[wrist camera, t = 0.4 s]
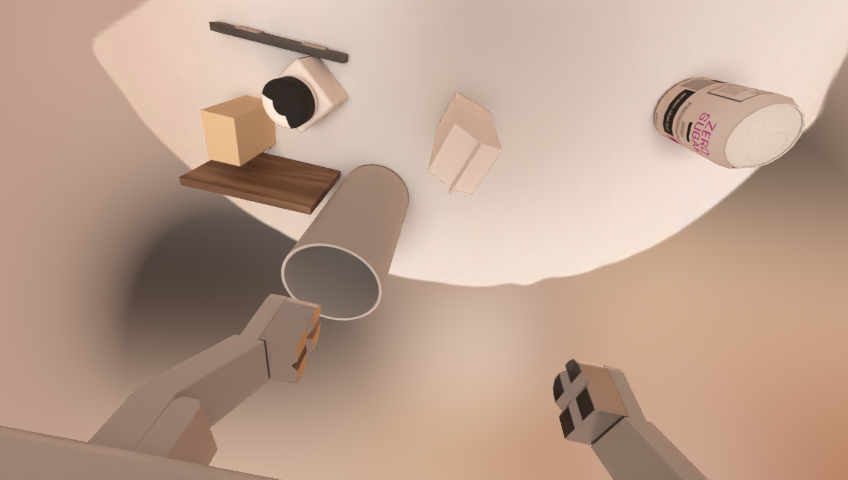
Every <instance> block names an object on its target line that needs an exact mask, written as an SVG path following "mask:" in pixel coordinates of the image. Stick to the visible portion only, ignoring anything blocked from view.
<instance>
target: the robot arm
mask: <svg viewBox="0 0 848 480" xmlns="http://www.w3.org/2000/svg"><path fill="white" fill-rule="evenodd" d="M320 313H321V305H318V304H313V303H309V302H305V301H301V300H297V299H293V298H289V297H284V296H280V295H275V294H271V295H270V296H269V297H267V298H266V300H265V301H264V303H263V304H262V305H261V307H260V308H259V309H258V311H257V312H256V314H255V315H254V316H253V318H252V319H251V321H250V322H249V323H248V325H247V326H246V328H245V329H244V330H243V332H242V333H241V335H240V336H239V335H233V336H231V337H230V338H228V339H226V340H224V341H222V342H220V343H218V344H216V345H214V346H213V347H211V348H209V349H207V350H205V351H203V352H201V353H199V354H197V355H196V356H194V357H192V358H190V359H188V360H186V361H185V362H182V363H180V364H179V365H177V366H175V367H173V368H171V369H169V370H167V371H165V372H164V373H162V374H160V375H158V376H156V377H154V378H152V379H150V380H149V381H147V382H145V383H143V384H141V385H139V386H138V387H137V388H136V389H135V391H134V392H133V393H132V394H131V395H130V396H129V397H128V398H127V399H126V401H125V402H124V403H123V404H122V405H121V406H120V407H119V408H118V409H117V411H116V412H115V413H114V414H113V415H112V416H111V417H110V418H109V419H108V420H107V422H106V423H105V424H104V425H103V426H102V427H101V428H100V429H99V430H98V432H97V433H96V434H95V435H94V436H93V437H92V438H91V439H90V440H89V441H88V442H83V441H78V440H73V439H68V438H63V437H57V436H52V435H47V434H42V433H36V432H31V431H26V430H21V429H16V428H10V427H5V426H0V480H279V479H274V478H269V477H263V476H258V475H253V474H248V473H243V472H238V471H233V470H227V469H222V468H217V467H212V466H209V464H210V462H211V460H212V458H213V457H214V455H215V453H216V451H217V446H216V443H215V440H214V438H213V435H212V433H211V430H210V427H212V426H213V425H214V424H215V423H217V422H218V421H219V420H220V419H222V418H223V417H224V416H225V415H226V414H228V413H229V412H230V411H232V410H233V409H234V408H235V407H237V406H238V405H239V404H240V403H241V402H243V401H244V400H246V399H247V398H248V397H249V396H251V395H252V394H253V393H254V392H255V391H257V390H258V389H259V388H261V387H262V386H263V385H264V384H265V383H267V382H268V381H269V379H272V380H278V381H285V382H289V383H295V384H298V382H299V380H300V378H301V376H302V374H303V372H304V369H305V367H306V365H307V355H308V354H310V353H311V352H313V349H314V347H315V345H316V342H317V339H318V336H319V332H320V321H319V320H318V318H319V316H320ZM566 369H567V370H566V371H563V372H561V373H559V374H558V376H557V377H556V378H555V381H554V386H553V394H554V399H555V403H556V404H557V405H558V406H559V407H560V409H561V410H562V412H561V414H560V416H559V419H560V422H561V426H562V430H563V434H564V438H565V439H567V440H571V441H576V442H580V443H584V444H588V445H592V446H591V448H592V449H593V450H594V452H595V453H596V455H597V456H598V458H599V459H600V461H601V462H602V464H603V465H604V467H605V468H606V469H607V471H608V472H609V474H610V475H611V477H612V478H613V480H708V479H707V478H706V477H705V476H704V475H703V474H702V473H701V472H700V471H699V470H698V469H697V468H696V467H695V466H694V465H693V464H692V463H691V462H690V461H689V460H688V459H687V458H686V457H685V456H684V455H683V454H682V453H681V452H680V451H679V450H678V449H677V448H676V447H675V446H674V445H673V444H672V443H671V442H670V441H669V440H668V439H667V438H666V437H665V436H664V435H663V434H662V433H661V432H660V431H659V430H658V428H656V426H655V425H654V424H652V423H651V422H648V421H646V419H645V417H644V415H643V413H642V411H641V408H640V407H639V404H638V402H637V400H636V398H635V396H634V394H633V392H632V390H631V388H630V386H629V383H628V381H627V379H626V377H625V375H624V373H623V372H622V371H621V370H620V369H617V368H612V367H608V366H602V365H600V364H594V363H589V362H585V361H580V360H575V359H572V360H570V361H569V362H568V363H567V364H566Z"/></svg>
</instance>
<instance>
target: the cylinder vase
mask: <svg viewBox="0 0 848 480" xmlns="http://www.w3.org/2000/svg"><path fill="white" fill-rule="evenodd" d="M407 207H408V193H407V189H406V187H405V185H404V183H403V182H402V180H401V179H400V178H399V177H398V176H397V175H396V174H395V173H393V172H392V171H390V170H389V169H386V168H384V167H381V166H376V165H367V166H362V167H359V168H357V169H355V170H353V171H352V172H351V173H350V174H349V175H348V176H347V177H346V179H345V180H344V181H343V182H342V184H341V185H340V186H339V188H338V189H337V190H336V192H335V193H334V194H333V196H332V197H331V198H330V200H329V201H328V202H327V204H326V205H325V206H324V208H323V209H322V210H321V212H320V213H319V214H318V216H317V217H316V218H315V220H314V221H313V222H312V224H311V225H310V226H309V228H308V229H307V230H306V232H305V233H304V234H303V236H302V237H301V238H300V240H299V241H298V242H297V244H296V245H295V246H294V248H293V249H292V250H291V252H290V253H289V254H288V256H287V257H286V258H285V260H284V262H283V265H282V269H281V275H282V280H283V283H284V286H285V288H286V290H287V291H288V293H289V294H290V295H291V296H292V298H293V299H297V300H301V301H305V302H309V303H313V304H318V305H321V313H320V316H322V317H326V318H330V319H335V320H352V319H358V318H361V317H363V316H366V315H368V314H369V313H371V312H372V311H373V310H374V309H375V308H376V307H377V305H378V304H379V302H380V299H381V296H382V292H383V289H384V285H385V282H386V279H387V275H388V272H389V269H390V265H391V262H392V258H393V255H394V251H395V248H396V245H397V241H398V238H399V234H400V231H401V227H402V224H403V221H404V217H405V214H406V210H407Z"/></svg>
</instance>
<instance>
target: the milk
mask: <svg viewBox="0 0 848 480" xmlns="http://www.w3.org/2000/svg"><path fill="white" fill-rule="evenodd" d="M501 152H502V150H501V147H500V144H499V141H498V138H497V135H496V132H495V129H494V126H493V123H492V120H491V117H490V114H489V111H487V110H485V109H484V108H482V107H480V106H479V105H477V104H475V103H474V102H472V101H470V100H469V99H467V98H465V97H464V96H462V95H460V94H459V93H457V92H456V94H455V96H454V98H453V99H452V101H451V103H450V105H449V107H448V109H447V111H446V112H445V114H444V116H443V118H442V120H441V122H440V124H439V125H438V128H437V133H436V137H435V142H434V146H433V151H432V155H431V160H430V164H429V169H428V170H429V172H431V173H432V174H433V175H434V176H435V177H437V178H438V179H439V180H440V181H441V182H443V183H444V184H445V185H446V186H447V187H449V188H450V194H451V193H452V191H453V190H457V191H461V192H466V193H470V194H473V192H474V191H475V189H476V188H477V186H478V185H479V184H480V182H481V181H482V179H483V178H484V176H485V175H486V173H487V172H488V171H489V169H490V168H491V166H492V165H493V163H494V162H495V160H496V159H497V157H498V156H499V155H500V153H501Z"/></svg>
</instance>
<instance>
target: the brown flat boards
mask: <svg viewBox="0 0 848 480" xmlns="http://www.w3.org/2000/svg"><path fill="white" fill-rule="evenodd" d="M209 24H210V30H212V31H216V32H220V33H224V34H228V35H232V36H236V37H239V38H243V39H247V40H251V41H255V42H259V43H263V44H267V45H271V46H275V47H279V48H283V49H287V50H291V51H295V52H299V53H303V54H307V55H311V56H315V57H319V58H323V59H327V60H331V61H335V62H339V63H346V62H348V54H345V53H341V52H337V51H333V50H329V49H328V48H325V47H322V46H318V45H314V44H310V43H301V42H297V41H293V40H289V39H285V38H281V37H277V36H273V35H270V34H266V33H264V32H262V31H258V30H254V29H250V28H247V27H243V26H234V25H230V24H226V23H222V22H209ZM340 173H341V171H337V170H333V169H329V168H325V167H321V166H316V165H312V164H308V163H304V162H300V161H295V160H291V159H287V158H283V157H279V156H274V155H270V154H266V153H260V154H259V155H257V156H256V157H254V158H252V159H251V160H249V161H248V162H246V163H245V164H243V165H241V166H236V165H232V164H228V163H224V162H219V161H215V160H210V161H208V162H207V163H205V164H203V165H201V166H199V167H197V168H195V169H194V170H192V171H190V172H188V173H187V174H184V175H182V176H181V177H179V178H180V183H181V185H184V186H189V187H193V188H197V189H202V190H206V191H210V192H215V193H219V194H223V195H227V196H232V197H236V198H240V199H245V200H249V201H253V202H258V203H262V204H266V205H271V206H275V207H279V208H284V209H288V210H292V211H297V212H301V213H305V214H310V215H311V213H312V212H313V211H314V210H315V208H316V207H317V206H318V205H319V203H320V202H321V201H322V200H323V198H324V197H325V196H326V195H327V193H328V192H329V191H330V190H331V188H332V187H333V186H334V184H335V183H336V182H337V181H338V179H339V178H340Z"/></svg>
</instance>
